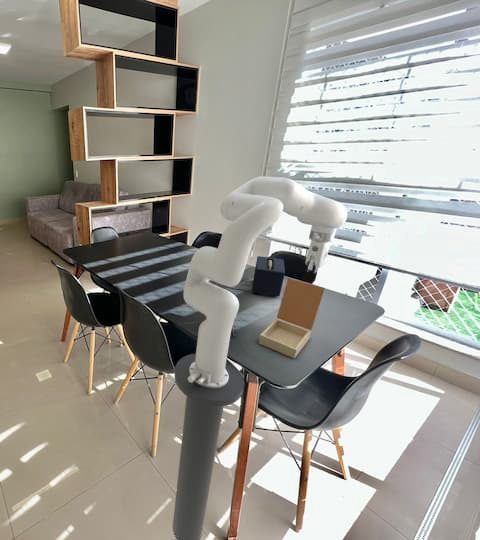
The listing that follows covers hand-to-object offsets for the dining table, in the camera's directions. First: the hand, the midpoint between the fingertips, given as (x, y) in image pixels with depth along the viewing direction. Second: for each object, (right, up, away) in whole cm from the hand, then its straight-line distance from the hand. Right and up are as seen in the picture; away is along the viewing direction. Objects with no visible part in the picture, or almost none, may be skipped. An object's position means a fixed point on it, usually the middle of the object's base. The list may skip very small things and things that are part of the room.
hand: (309, 280), depth 114 cm
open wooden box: (-12, -23, -3) cm, 26 cm away
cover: (-5, -9, -2) cm, 10 cm away
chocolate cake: (-32, -21, +4) cm, 39 cm away
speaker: (+3, -6, +41) cm, 41 cm away
